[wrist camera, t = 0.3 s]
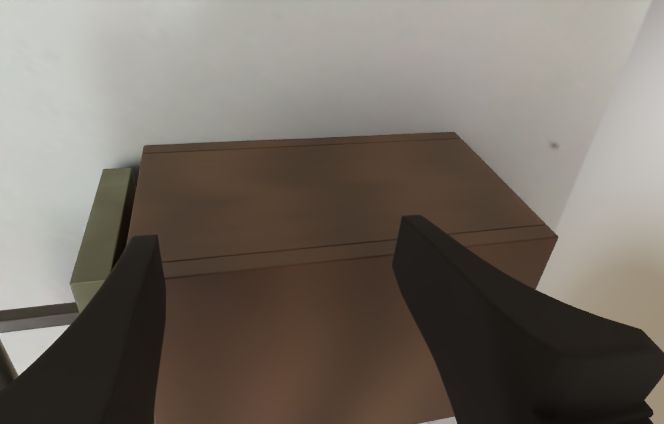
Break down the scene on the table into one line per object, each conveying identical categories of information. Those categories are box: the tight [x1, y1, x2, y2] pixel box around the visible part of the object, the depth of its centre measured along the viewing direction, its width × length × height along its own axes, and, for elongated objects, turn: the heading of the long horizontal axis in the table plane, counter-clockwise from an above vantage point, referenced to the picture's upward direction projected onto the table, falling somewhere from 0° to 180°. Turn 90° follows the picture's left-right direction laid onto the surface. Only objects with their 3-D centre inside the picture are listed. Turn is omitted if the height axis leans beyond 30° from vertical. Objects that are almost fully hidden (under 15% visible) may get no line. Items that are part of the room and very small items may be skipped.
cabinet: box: [126, 132, 558, 424], centre depth 23 cm, size 16×12×9 cm
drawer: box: [0, 168, 156, 424], centre depth 22 cm, size 19×10×7 cm, turn 86°
